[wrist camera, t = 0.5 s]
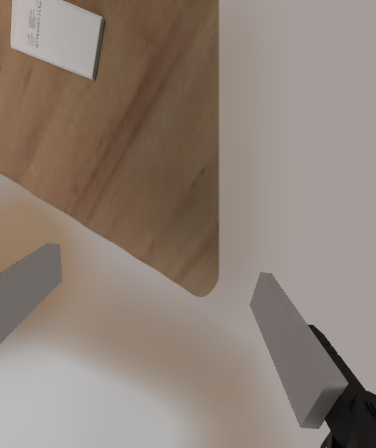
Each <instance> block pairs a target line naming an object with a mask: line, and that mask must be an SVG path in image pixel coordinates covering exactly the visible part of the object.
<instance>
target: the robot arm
mask: <svg viewBox="0 0 376 448" xmlns="http://www.w3.org/2000/svg"><path fill="white" fill-rule="evenodd" d="M61 282H62V269H61V256H60V245H59V244H52V243H46V244H45V245H43V246H42V247H40V248H39V249H37V250H35V251H34V252H32V253H31V254H29V255H27V256H26V257H24V258H23V259H21V260H20V261H18V262H16V263H15V264H13V265H12V266H10V267H8V268H7V269H5V270H4V271H2V272H0V343H1V342H2V341H3V340H4V339H5V338H6V337H7V336H8V335H9V334H10V333H11V332H12V331H13V330H14V329H15V328H16V327H17V326H18V325H19V324H20V323H21V322H22V321H23V320H24V319H25V318H26V317H27V316H28V315H29V314H30V313H31V312H32V311H33V310H34V309H35V308H36V307H37V306H38V305H39V304H40V303H41V302H42V301H43V300H44V299H45V298H46V297H47V296H48V295H49V294H50V293H51V292H52V291H53V290H54V289H55V288H56V287H57V286H58V285H59V284H60V283H61ZM250 306H251V309H252V311H253V314H254V316H255V318H256V321H257V323H258V326H259V328H260V331H261V333H262V335H263V338H264V340H265V343H266V345H267V348H268V350H269V352H270V355H271V357H272V360H273V362H274V365H275V367H276V370H277V372H278V374H279V377H280V379H281V382H282V384H283V387H284V389H285V391H286V394H287V396H288V399H289V401H290V403H291V406H292V408H293V411H294V413H295V416H296V418H297V420H298V423H299V425H300V427H302V428H313V429H319V428H320V426H321V425H322V423H323V422H324V420H325V421H326V423H327V425H328V426H329V428H330V430H331V431H330V433H329V434H328V436H327V437H326V439H325V440H324V442H323V443H322V445H321V447H320V448H326V447H327V448H376V395H375V394H373V393H371V392H369V391H366V390H365V389H364V387H363V386H362V385H361V384H360V382H359V381H358V380H357V378H356V377H355V375H354V374H353V373H352V372H351V370H350V369H349V368H348V366H347V365H346V364H345V362H344V361H343V360H342V358H341V357H340V356H339V355H338V354H337V352H336V350H335V349H334V348H333V346H331V344H330V342H329V341H328V340H327V338H326V337H325V336H324V335H323V334H322V333H321V332H320V331H319V330H318V329H317V328H316V327H315V326H314V325H308V324H307V323H306V322H305V320H304V319H303V318H302V316H301V315H300V313H299V312H298V311H297V309H296V308H295V306H294V305H293V303H292V302H291V301H290V299H289V298H288V296H287V295H286V294H285V292H284V291H283V289H282V288H281V287H280V285H279V284H278V282H277V281H276V279H275V278H274V276H273V275H272V274H269V273H262V272H261V273H260V276H259V279H258V282H257V285H256V288H255V291H254V294H253V297H252V300H251V303H250Z"/></svg>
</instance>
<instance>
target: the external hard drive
mask: <svg viewBox="0 0 376 448" xmlns="http://www.w3.org/2000/svg"><path fill="white" fill-rule="evenodd" d="M104 22H105V20H104V19H103V17H101V16H99V15H97V14H94V13H92V12H90V11H87V10H85V9H82V8H80V7H78V6H75V5H73V4H71V3H68V2H66V1H64V0H12V20H11V48H13V49H14V50H16V51H18V52H21V53H24V54H26V55H28V56H31V57H34V58H36V59H39V60H41V61H44V62H46V63H49V64H51V65H54V66H57V67H59V68H62V69H64V70H67V71H69V72H72V73H75V74H77V75H80V76H82V77H85V78H87V79H90V80H93V81H95V78H96V71H97V65H98V59H99V52H100V46H101V40H102V34H103V28H104Z"/></svg>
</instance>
